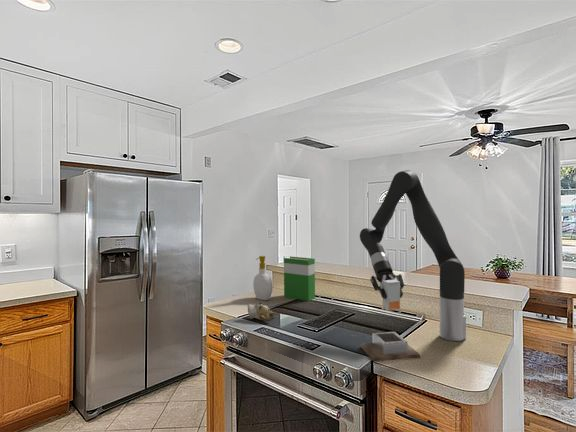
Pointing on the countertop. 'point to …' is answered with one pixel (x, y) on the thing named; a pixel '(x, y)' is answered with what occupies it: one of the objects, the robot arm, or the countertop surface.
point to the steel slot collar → (389, 343)
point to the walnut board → (377, 356)
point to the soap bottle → (262, 282)
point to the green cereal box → (299, 278)
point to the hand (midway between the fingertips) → (393, 297)
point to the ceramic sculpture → (260, 312)
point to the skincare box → (391, 295)
